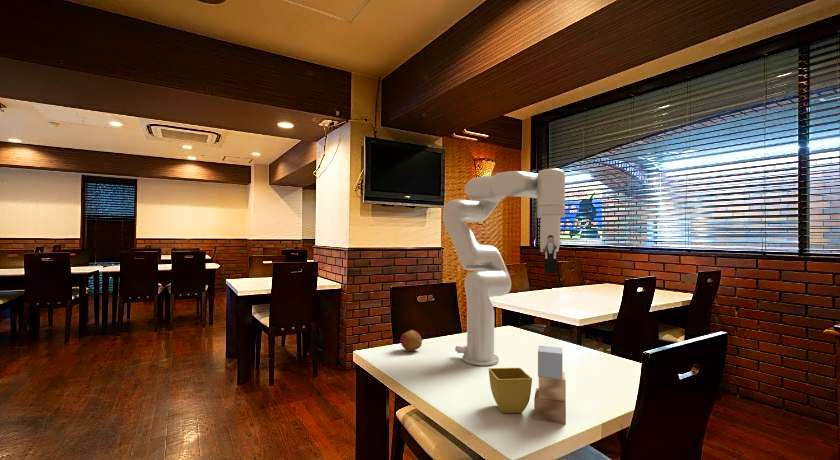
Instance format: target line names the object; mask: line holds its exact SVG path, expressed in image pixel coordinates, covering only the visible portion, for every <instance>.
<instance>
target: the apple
mask: <svg viewBox="0 0 840 460" xmlns="http://www.w3.org/2000/svg"><path fill="white" fill-rule="evenodd" d="M399 340H400V344H401V346H402V348H403V349H404V350H405V351H407V352H413V351H416V350H417V349H420V347H421V346H422V344H423V339H422V336H421V334H420V333H419V332H418V331H416V330H415V329H410V330H408V331H406V332H405V333H404V332H403V333H402V334H401V336H400V338H399Z"/></svg>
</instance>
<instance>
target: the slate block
mask: <svg viewBox="0 0 840 460" xmlns="http://www.w3.org/2000/svg"><path fill="white" fill-rule="evenodd" d="M562 372H563V347H560V346H559V347H558V346H557V347H556V346H549V345H548V346H547V345H538V349H537V377H538V378H539V377H545V378H553V379H562Z"/></svg>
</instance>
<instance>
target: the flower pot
mask: <svg viewBox="0 0 840 460" xmlns="http://www.w3.org/2000/svg"><path fill="white" fill-rule="evenodd" d="M488 376H489V384H490V385H489V386H490V390H491V393H492V396H493V400H494V402H495V403H496V405H497V407H498V408H499V410H500V411H501V412H502V414H511V413H512V414H513V413H517V414H519V413H520V414H521V413H523V412H524V411H525V409H526V408H527V406H528V405H529V403H530V399H531V393H532V383H533V377H532V376H530V375H529V374H528V373H526V371H525V370H524V369H523V368H521V367H492V368H488Z"/></svg>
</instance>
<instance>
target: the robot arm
mask: <svg viewBox="0 0 840 460" xmlns="http://www.w3.org/2000/svg"><path fill="white" fill-rule="evenodd" d="M464 192H465V194H466V196H467V198H469V199H464V198H463V199H459V198H458V199H452V200H449V201H447V202H446V203H445V205H444V206H443V211H442V221H443V226H444V228H445V230H446V232H447V233H448V235H449V237H450V239H451V241H452V244H453V247H454V249H455V252H456V254H457V257H458V261H459V263H460V265H461V267H462V268H463V269H465V270H466V271H471V272H469V273H468V274H467V275H466V276H465V279H464V281H463V282H464V283H463V284H464V290H465V296H466V297H465V298H466V345H465V346H459V345H455V350H454V351H455V352H456V353H458V354H463V355H462V361H463V362H465V363H466V364H468V365H469V364H470V365H473V366H481V367H482V366H483V367H485V366H486V367H487V366H493V365H496V364H498V363H499V357H498V356H497V355H495V308H494V305H493V303H492V301H491V299H490V298H491V297H492V298H493V297H494V298H495V297H504V296H506V295H507V294H508V293H510V292H511V288H512V280H511V276H510V274H509V270H508V268H507V266H506V264H505V261H504V259H503V257H502V254H501V253H500V251H499V250H498V248H497V247H495V246H493V245H492V244H481V243H478V241H477V239H476V237H475V234H474V232H473V231H472V229H471V228H470V227H469V226H468V225H467V224H466V223H481V222H484V221H486V220H487V219H488V218H489V216H490V215H491V214H492V212H493V211H494V209H496V207H497V206H498V204H500V202H501V201H502V200H504V199H505V198H506V197H519V198H521V197H522V198H528V199H529V198H531V199H532V198H533V199H537V202H536V205H537V207H536V209H537V212H536V213H537V215H536V217H537V219H540V229H539V230H540V231H539V233H540V239H539V240H540V244H539V247H540V250H539V252H541V253H544V251H545V253H544V254H545V257H544V263H543V264H544V271H543V273H544V274H546V275H556V274H557V273H558V257H557V252H559V251H560V250H559V249H560V244H561V219H564V218H566V210H565V209H566V200H565V199H566V175H565V171H564V170H563V169H560V168H546V169H542V170H540V171H538V173H536V172H529V171H521V170H520V171H519V170H510V171H501V172H497V173H495V174H493V175H488V176H487V175H485V176H477V177H473V178H471V179H469V180H468V181H466V184H465V186H464ZM465 222H466V223H465Z"/></svg>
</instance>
